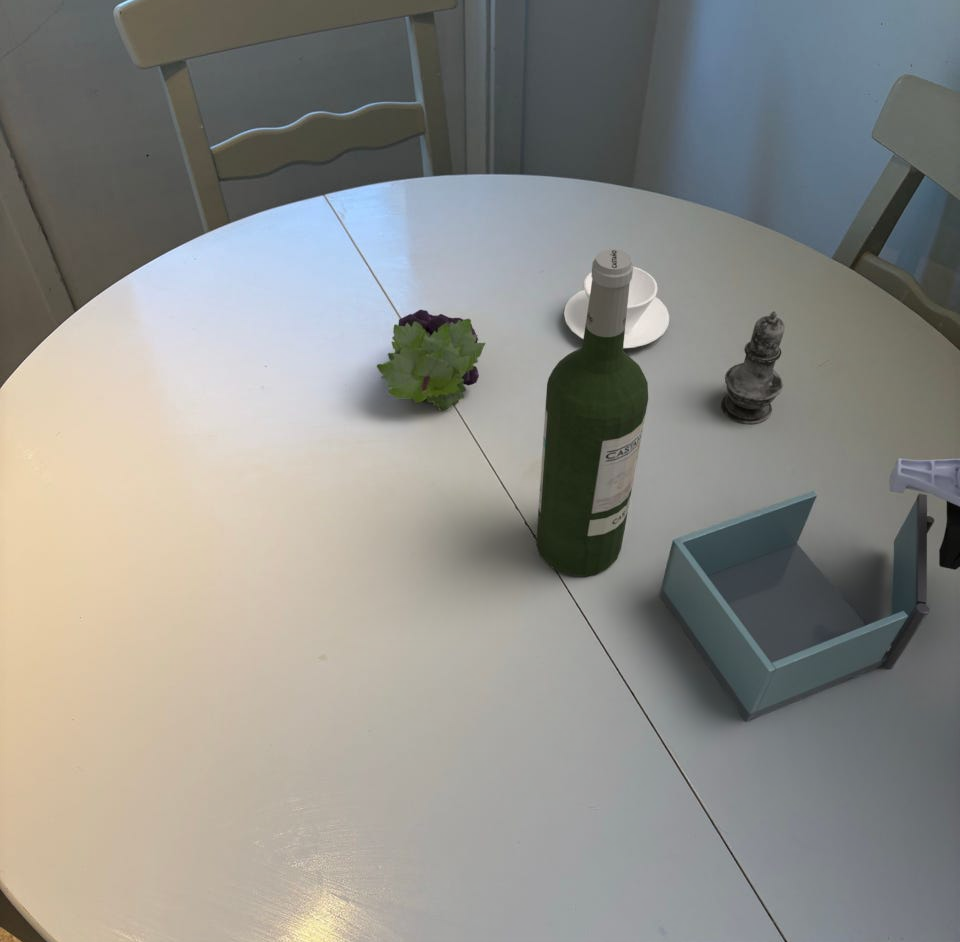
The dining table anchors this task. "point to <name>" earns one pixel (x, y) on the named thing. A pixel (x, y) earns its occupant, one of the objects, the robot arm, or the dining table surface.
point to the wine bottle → (592, 433)
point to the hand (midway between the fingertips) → (947, 559)
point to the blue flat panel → (911, 560)
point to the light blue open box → (772, 611)
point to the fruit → (432, 359)
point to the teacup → (643, 310)
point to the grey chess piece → (755, 375)
